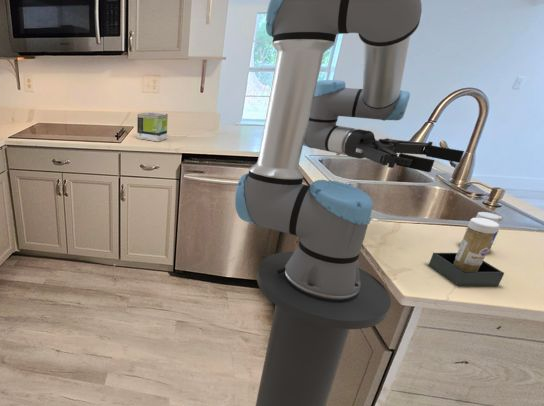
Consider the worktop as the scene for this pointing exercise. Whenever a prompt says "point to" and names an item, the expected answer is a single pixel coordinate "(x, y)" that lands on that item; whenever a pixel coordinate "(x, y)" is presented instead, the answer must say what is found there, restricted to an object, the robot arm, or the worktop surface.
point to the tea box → (152, 126)
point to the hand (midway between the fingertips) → (447, 161)
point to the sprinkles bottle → (475, 244)
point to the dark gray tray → (483, 277)
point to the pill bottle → (490, 217)
